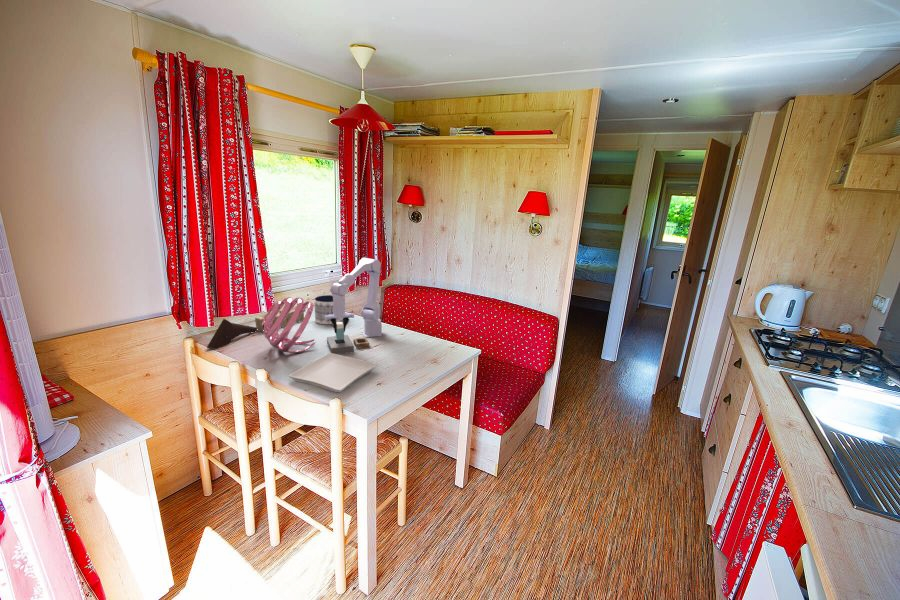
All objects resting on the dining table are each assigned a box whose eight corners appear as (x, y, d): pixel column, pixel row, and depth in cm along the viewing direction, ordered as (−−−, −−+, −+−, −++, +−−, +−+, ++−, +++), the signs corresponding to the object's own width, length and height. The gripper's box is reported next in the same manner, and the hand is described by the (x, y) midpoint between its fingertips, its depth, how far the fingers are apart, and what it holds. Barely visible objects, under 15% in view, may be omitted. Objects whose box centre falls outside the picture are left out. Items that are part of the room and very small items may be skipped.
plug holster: (365, 341, 208) (365, 337, 207) (369, 347, 201) (369, 342, 201) (353, 343, 205) (353, 338, 205) (356, 348, 199) (356, 344, 198)
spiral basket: (334, 304, 206) (287, 277, 193) (332, 333, 182) (278, 306, 169) (305, 339, 213) (258, 316, 200) (300, 372, 189) (245, 349, 176)
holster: (242, 355, 210) (203, 346, 187) (253, 326, 214) (216, 315, 191) (249, 356, 208) (211, 348, 185) (260, 328, 212) (224, 316, 189)
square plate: (330, 359, 186) (329, 351, 185) (377, 371, 176) (378, 363, 175) (287, 382, 162) (286, 374, 161) (340, 398, 152) (340, 389, 151)
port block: (347, 340, 208) (347, 334, 207) (353, 352, 194) (353, 345, 193) (326, 343, 203) (326, 336, 202) (331, 354, 189) (331, 348, 188)
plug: (342, 336, 200) (342, 321, 198) (344, 339, 196) (343, 324, 194) (335, 336, 198) (335, 322, 196) (337, 339, 194) (336, 325, 192)
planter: (347, 319, 242) (346, 297, 238) (329, 326, 228) (329, 303, 224) (327, 315, 248) (326, 293, 244) (309, 321, 234) (308, 299, 230)
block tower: (265, 334, 213) (306, 319, 238) (263, 320, 211) (305, 306, 235) (256, 331, 217) (297, 317, 241) (254, 317, 214) (296, 304, 239)
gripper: (325, 309, 186) (326, 336, 190) (355, 307, 192) (355, 333, 196) (323, 305, 192) (324, 331, 196) (352, 304, 198) (352, 328, 202)
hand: (339, 331), depth 196 cm, fingers closed on plug, 3 cm apart
